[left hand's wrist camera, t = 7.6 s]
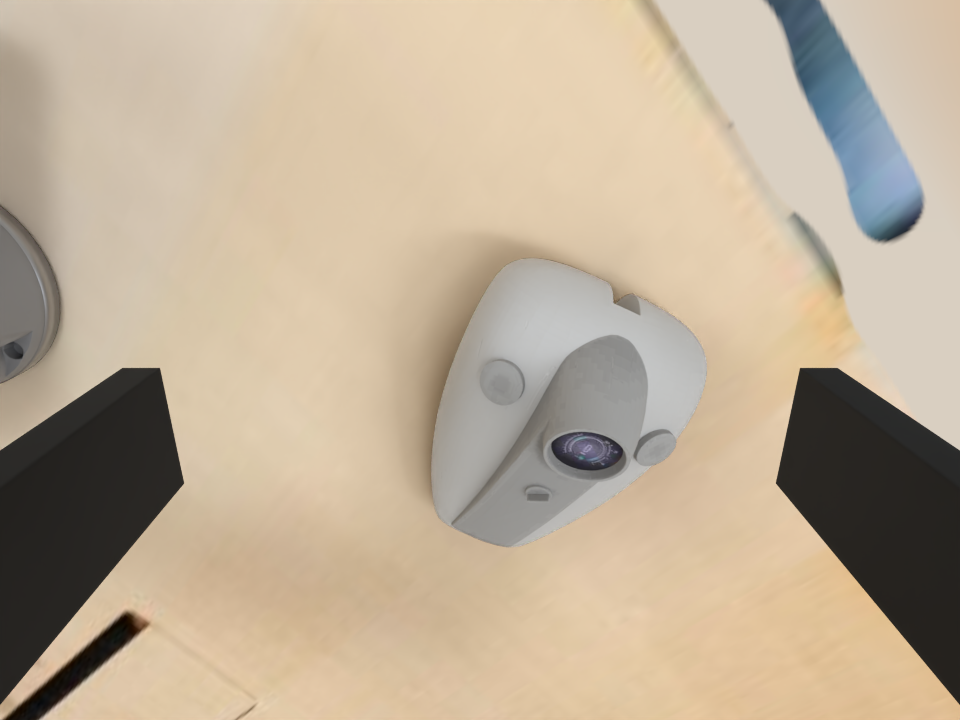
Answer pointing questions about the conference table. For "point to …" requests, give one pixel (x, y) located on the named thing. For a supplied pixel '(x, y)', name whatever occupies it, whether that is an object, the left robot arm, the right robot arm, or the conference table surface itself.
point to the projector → (557, 402)
